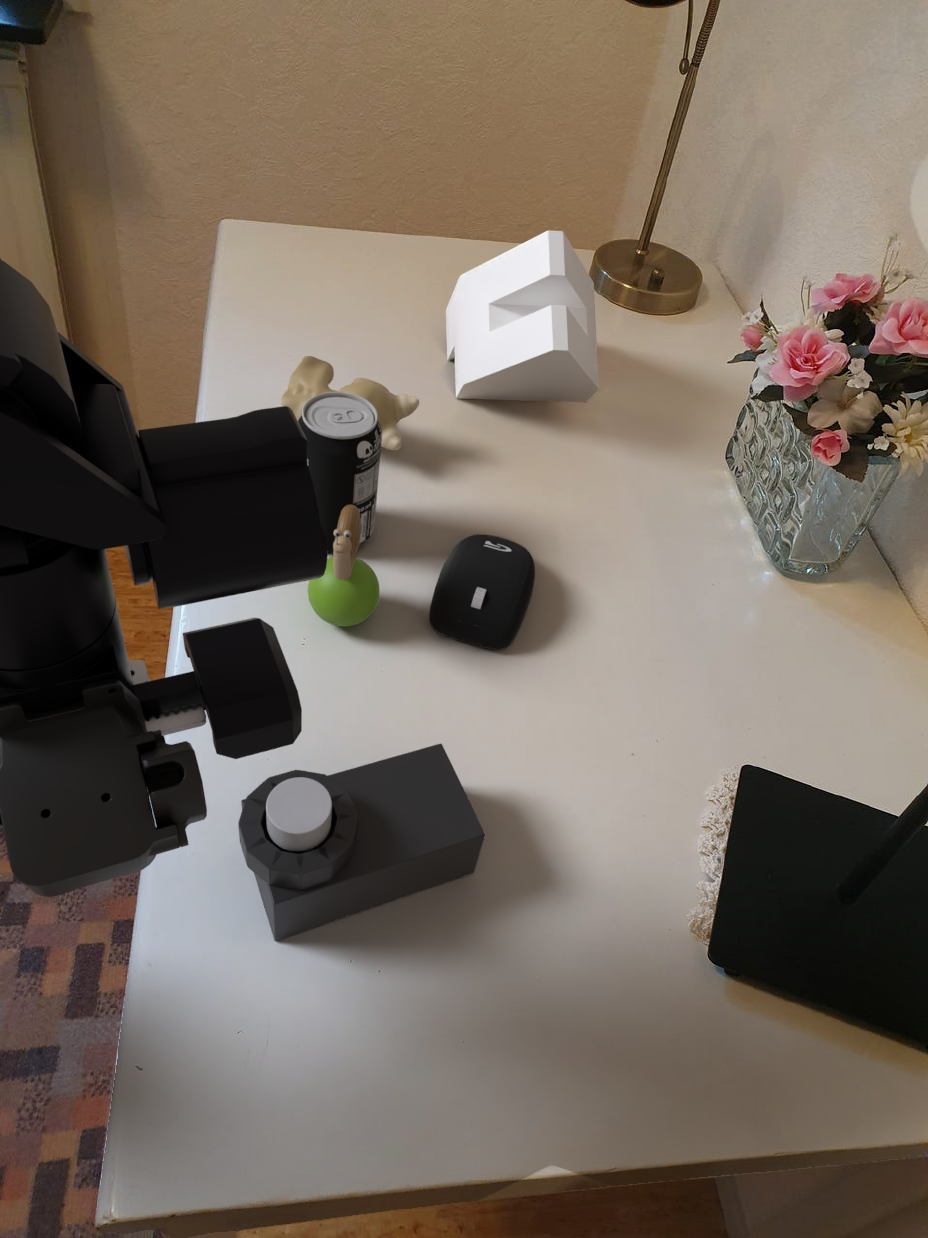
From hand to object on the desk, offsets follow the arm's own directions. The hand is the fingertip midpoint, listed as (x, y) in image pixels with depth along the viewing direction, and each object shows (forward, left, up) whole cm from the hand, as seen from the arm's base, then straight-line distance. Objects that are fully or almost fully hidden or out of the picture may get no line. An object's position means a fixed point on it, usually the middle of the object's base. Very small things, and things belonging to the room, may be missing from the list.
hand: (99, 827), depth 45 cm
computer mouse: (+30, +21, -12) cm, 39 cm away
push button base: (+14, +1, -12) cm, 18 cm away
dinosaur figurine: (+24, +43, -12) cm, 51 cm away
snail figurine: (+18, +21, -12) cm, 30 cm away
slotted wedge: (+44, +48, -12) cm, 66 cm away
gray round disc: (+10, +1, -5) cm, 11 cm away
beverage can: (+20, +31, -12) cm, 39 cm away
